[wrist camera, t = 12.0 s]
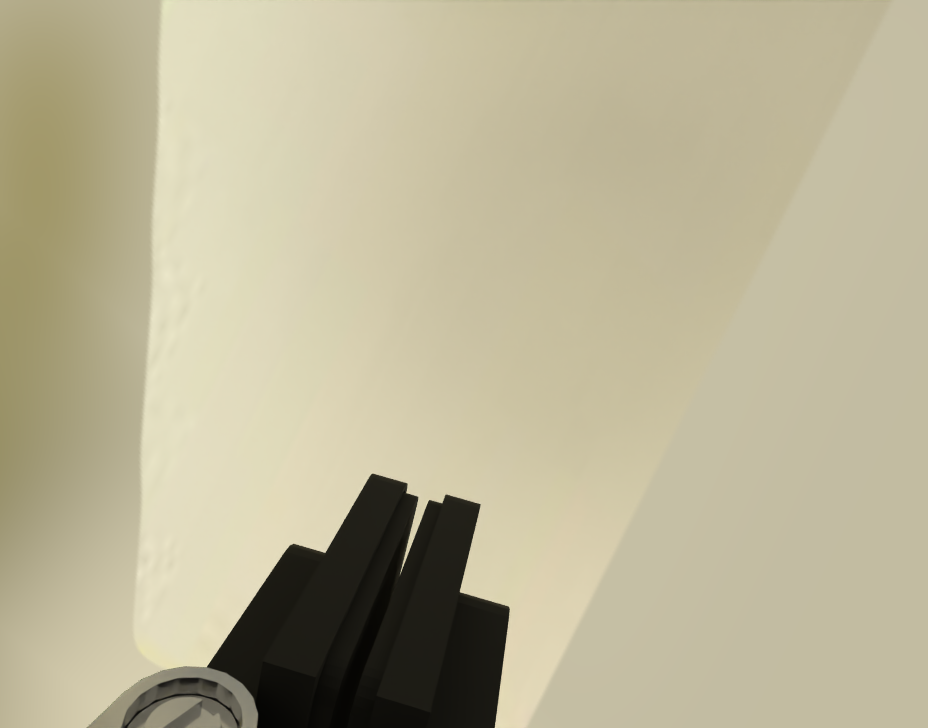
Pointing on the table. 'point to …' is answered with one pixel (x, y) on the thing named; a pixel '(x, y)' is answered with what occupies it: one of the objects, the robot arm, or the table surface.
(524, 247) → the table surface
